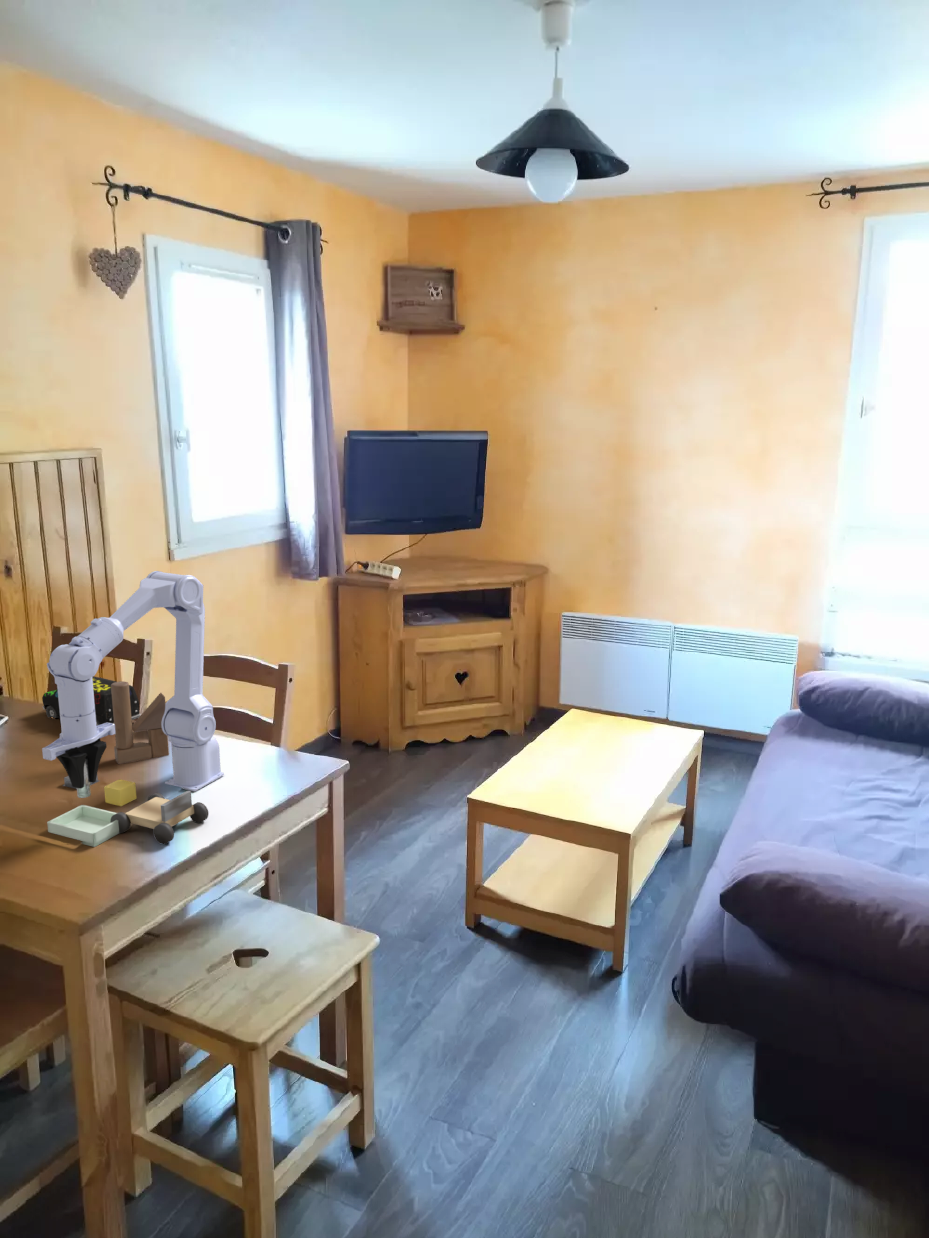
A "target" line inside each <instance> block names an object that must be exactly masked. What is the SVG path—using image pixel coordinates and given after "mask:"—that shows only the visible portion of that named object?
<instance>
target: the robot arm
mask: <svg viewBox="0 0 929 1238" xmlns="http://www.w3.org/2000/svg"><path fill="white" fill-rule="evenodd" d="M156 608H158V609H159V608H163V609H165V610H166V611H167V612H168V613H169V614H171V615H172V616H173V617H174V619H175V651H174V652H175V654H174V655H175V660H174V689H173V690H174V693H173V696H172V697H170V698H169V700H166V701H167V702H166V701H165V702H166V703H165V712H164V715H163V718H162V722H161V726H162V730H163V732H164V733H165V734H166V735H167V736H168V742H170V744H171V746H170V747H171V756H172V757H171V758H172V759H171V761H172V770H173V771H172V772H173V778H170V779H168V780H166V781H165V782H164V784H166V785H169V786H175V787H179V788H180V789H182V790H184V791H185V790H186V791H191V792H196V791H198V790H200V789H201V788H203V787H205V786H207V785H210V784H211V783H212V782H215V781H216V780H218V779H220V778H223V776H224V775H225V773H224V772H222V771H221V754H220V745H219V742H218V740H217V738H216V737H215V736H214V735H215V732H216V728H217V725H216V723H217V722H216V719H215V717H214V706H213V705H212V703H210V701H209V700H208V699H207V698H206V697H205V696H204V694H203V693H204V692H203V688H204V687H203V686H204V663H205V661H204V656H205V654H204V653H205V623H206V621H205V619H206V617H205V615H206V608H205V604H204V584H202V582H201V581H200V580H199V579H198V578H197V577H196V576H194V575H192V574H178V573H170V572H163V571H160V570H155V571H151V572H150V573H149V574H148V575H147V576H146V577H145V578H143V579H141V580H140V582H139V587H138V589H137V590H136V591H134V593H133V594H132V595H130V597H129V598H127V600H126V601H124V602H123V604H121V606H120V607H118V608H117V609H116V611H114V613H113V614H111V616H109V617H105V616H101V617H99V618H93V619H92V620H91V621H90V625H89V626H88V627H87V628H86V629H84V630H83V631H82V632H81V633H79V634H78V635H77V636H74V637H72V639H71V641H70V642H69V643H68V644H67V643H66V644H61V645H58V646H57V647H56V648H55V649H54V650H53V651H52V652H51V653H50V656H49V660H48V662H47V663H46V666H47V669H48V671H49V673H50V674H51V675H52V676H53V677H54V684H56V688H57V689H58V699H59V709H60V715H59V719H60V726H61V727H60V729H61V733H59V738H57V739H55V740H54V741H53V742H51V743H50V744H48V745H46V746H44V747H42V748H41V751H42V759H44V760H47V761H53V760H54V761H55V760H58V761H59V762H60V763H61V764H62V767H63V768H64V770H65V771H66V774H67V776H69V778H70V781H71V784H72V786H73V787H76V788H83V787H84V764H85V759H86V757H87V758H88V769H89V780H90V782H92V783H94V782H96V777H97V776H98V771H99V766H100V762H101V760H102V758H103V755H104V752H105V750H106V749H107V746H108V745H107V742H106V741H104V740H101V739H102V738H105V737H107V736H113V735H114V736H115V734H116V733H115V724H112V723H104V724H101V725H97V726H96V714H95V703H94V692H93V680H92V677H93V676H95V675H96V674H97V672H98V671H99V667H100V664H101V662H103V659H104V658H105V657H106V656H107V655H108V654H109V653H110V652H112V650H114V649H115V648H116V647H117V646H119V644H121V642H123V640H124V632H125V630H127V629H128V628H129V627H131V626H133V625H134V624H135V623H136V622H138V621H139V620H140V619H141V618H143V617H144V616H146V614H148V613H149V612H151V611H152V610H153V609H156ZM95 677H96V676H95ZM57 689H56V690H57Z"/></svg>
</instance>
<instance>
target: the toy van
mask: <svg viewBox="0 0 929 1238" xmlns="http://www.w3.org/2000/svg"><path fill="white" fill-rule="evenodd" d="M92 680H93V692H94V703H95V714H96V726H97V725H101V724H104V723H112V724H114V716H113V704H112V692H111V684H112V683H115V682H117V681H116V680H112V679H108V678H105V677H99V676H93V677H92ZM129 693H130V706H131V719H132V721H133V720H137V719H138V718H139V717H140V716H141V715H142V714H141V713H140V700H139V698H138V695H137V693H136V689H135V687H134V686H133V685H131V684H129ZM41 700H42V704H43V705H42V708H43V710H44V711H45V713H46V714H45V715H46V716H47V718H49V717H53V718H58V719H60V709H59V699H58V689H54V690H51V691H47V692H44V693H43V695H42V697H41Z"/></svg>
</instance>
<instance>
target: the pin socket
mask: <svg viewBox="0 0 929 1238" xmlns="http://www.w3.org/2000/svg"><path fill="white" fill-rule="evenodd" d="M63 780H64V784H62V787H67V788H72V789H74V790H75V789H76V790H77V788H76V787H73V786H72V784H71V781H70V778H69V776H68V775H67V776H65V777H63ZM98 782H101V780H99V779H98V775H97V777H96V782H94V783H92V782H90V786H92V785H94V784H96V783H98Z"/></svg>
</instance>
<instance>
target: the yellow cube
mask: <svg viewBox="0 0 929 1238" xmlns="http://www.w3.org/2000/svg"><path fill="white" fill-rule="evenodd" d="M103 790H104V800H105V804H108V805H109V804H110V805H115V806H118V807H123V806H125V805H127V804H128V803H131V802H132V801H134V800H136V799H137V787H136V782H134V781H129V780H126V779H125V780H124V779H120V778H119V779H117V780H115V781H113V782H111V783H109V784H107V785H104V787H103Z"/></svg>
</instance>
